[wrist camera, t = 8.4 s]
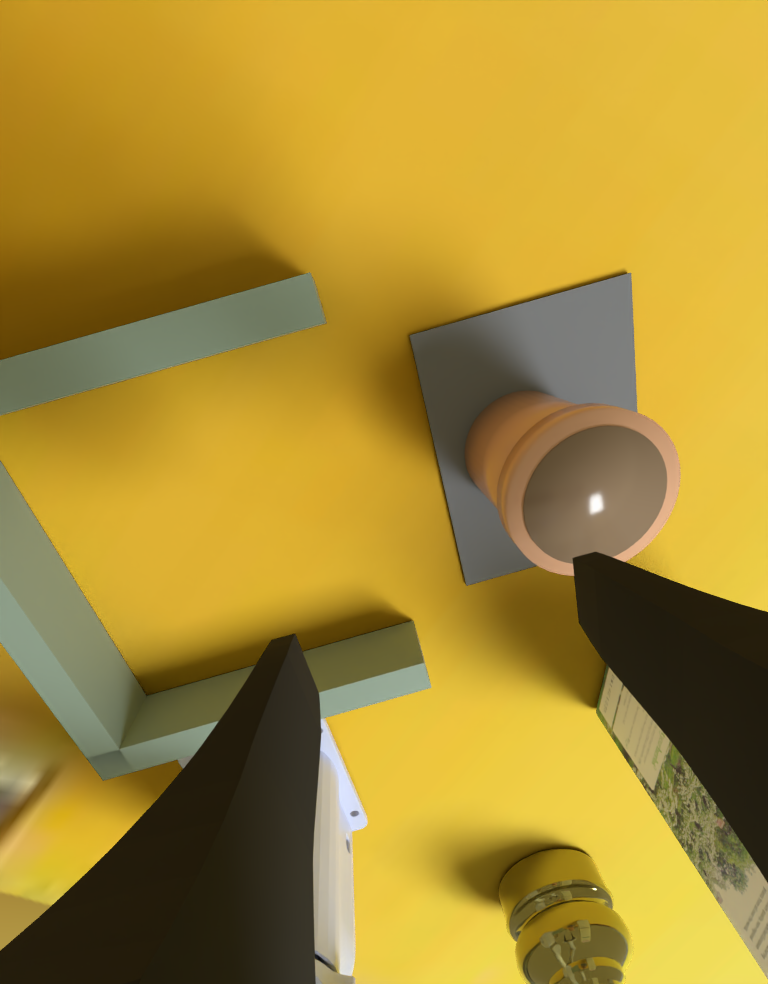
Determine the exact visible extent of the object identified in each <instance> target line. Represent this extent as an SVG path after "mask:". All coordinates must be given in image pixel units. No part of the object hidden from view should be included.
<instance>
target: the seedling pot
mask: <svg viewBox="0 0 768 984" xmlns="http://www.w3.org/2000/svg"><path fill="white" fill-rule="evenodd" d="M465 464H466V467H467V471H468V473H469V475H470V477H471V479H472V481H473V482H474V483H475V485H476V486H477V487H478V488H479V489H480V490H481V491H482V493H483V494H484V495H485V496H486V497H487V498H488V500H489V501H490V502H491V503H492V504H493V505H494V506H495V508H496V509H497V510H498V513H499V517H500V520H501V523H502V525H503V528H504V529H505V531H506V532H507V534H508V536H509V537H510V538H511V539H512V541H513V542H514V543H515V544H516V545H517V547H518V548H519V549H520V550H521V551H522V553H523V554H524V555H525V556H526V557H527V558H528V559H529V560H530V561H532V562H533V563H534V564H536V565H537V566H539V567H541V568H543V569H545V570H547V571H550V572H553V573H557V574H562V575H569V576H574V569H573V559H572V558H574V557H577V556H581V555H585V554H588V553H592V552H599V553H602V554H605V555H608V556H610V557H613V558H616V559H618V560H621V561H623V562H626V561H627V560H629V559H631V558H632V557H634V556H635V555H636V554H638V553H639V552H640V551H642V550H643V549H644V548H645V547H646V546H647V545H648V544H649V543H650V542H651V541H652V540H653V539H654V538H655V537H656V536H657V534H658V533H659V532H660V530H661V529H662V528H663V526H664V525H665V523H666V521H667V520H668V518H669V516H670V514H671V512H672V510H673V508H674V505H675V502H676V499H677V496H678V491H679V486H680V463H679V458H678V454H677V451H676V449H675V446H674V444H673V442H672V440H671V439H670V437H669V435H668V434H667V433H666V432H665V431H664V429H663V428H662V427H661V426H659V425H658V424H657V423H656V422H655V421H653V420H651V419H650V418H648V417H646V416H645V415H642V414H639V413H637V412H634V411H631V410H627V409H624V408H620V407H617V406H613V405H608V404H602V403H585V404H575V403H572V402H569V401H566V400H563V399H560V398H557V397H554V396H551V395H548V394H545V393H542V392H537V391H518V392H513V393H510V394H507V395H504V396H502V397H500V398H498V399H496V400H495V401H493V402H492V403H491V404H489V405H488V406H487V407H486V408H485V409H484V410H483V411H482V412H481V413H480V414H479V415H478V417H477V418H476V419H475V421H474V423H473V424H472V426H471V428H470V430H469V433H468V436H467V439H466V444H465Z"/></svg>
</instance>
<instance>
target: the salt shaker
mask: <svg viewBox="0 0 768 984" xmlns="http://www.w3.org/2000/svg"><path fill="white" fill-rule="evenodd" d="M499 899H500V902H501V906H502V909H503V913H504V916H505V920H506V923H507V924H506V926H507V931H508V933H509V935H510V936H511V937H512V938H513V939H514V940H515V941H516V942H517V943H516V949H515V954H516V961H517V966H518V970H519V973H520V975H521V977H522V979H523V980H524V982H525V983H526V984H625V981H626V977H625V974H624V973H625V971H626V970H627V968H628V966H629V964H630V962H631V959H632V955H633V939H632V936H631V933H630V931H629V929H628V927H627V926H626V924H625V922H624V921H623V919H622V918H621V917H620V916H619V915H618V914H617V913H616V912H615V911H614V910H612V909H613V896H612V894H611V892H610V891H609V890H608V888H607V886H606V884H605V882H604V880H603V878H602V876H601V874H600V872H599V869H598V867H597V865H596V863H595V862H594V861H593V859H592V858H590V857H589V856H588V855H586V854H584V853H582V852H579V851H576V850H572V849H550V850H545V851H541V852H538V853H535V854H533V855H530V856H528V857H526V858H524V859H522V860H521V861H519V862H518V863H517V864H515V865H514V866H513V867H512V868H511V869H510V870H509V871H508V872H507V873H506V874H505V876H504V877H503V879H502V881H501V883H500V886H499Z"/></svg>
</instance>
